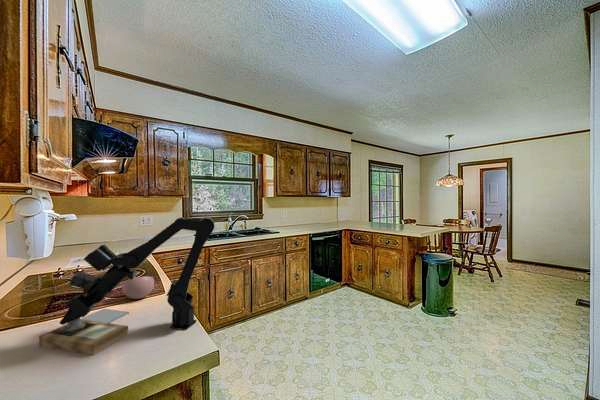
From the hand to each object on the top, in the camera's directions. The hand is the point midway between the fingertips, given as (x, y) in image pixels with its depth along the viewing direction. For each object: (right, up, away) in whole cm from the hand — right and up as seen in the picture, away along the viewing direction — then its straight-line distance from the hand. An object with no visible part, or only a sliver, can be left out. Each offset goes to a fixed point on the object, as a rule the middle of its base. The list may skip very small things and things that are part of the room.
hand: (68, 317), depth 83 cm
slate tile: (0, -7, +14) cm, 16 cm away
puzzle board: (+6, -7, -1) cm, 9 cm away
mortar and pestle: (+1, -7, +34) cm, 35 cm away
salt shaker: (+1, -7, 0) cm, 7 cm away
